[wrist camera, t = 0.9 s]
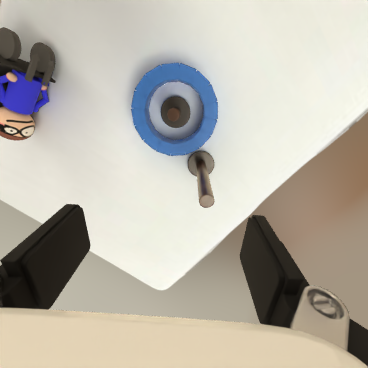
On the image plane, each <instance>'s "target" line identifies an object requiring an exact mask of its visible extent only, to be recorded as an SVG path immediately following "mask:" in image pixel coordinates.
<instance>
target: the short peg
mask: <svg viewBox="0 0 368 368" xmlns="http://www.w3.org/2000/svg"><path fill="white" fill-rule="evenodd" d="M161 116H162V119H163V121H164V122H165V123H166V124H167V125H168V126H170V127H173V128H179V127H182V126H184V125H185V124H186V123H187V122H188V120H189V118H190V107H189V105H188V103H187V102H186V101H185V100H184V99H183V98H181V97H170V98H168V99H167V100H166V101H165V102H164V103H163V105H162V108H161Z"/></svg>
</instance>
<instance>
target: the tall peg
mask: <svg viewBox="0 0 368 368" xmlns="http://www.w3.org/2000/svg"><path fill="white" fill-rule="evenodd" d="M188 168H189V171H190V172H191V173H192V174H193V175H195V176H197V182H198V194H199V203H200V205H201V206H202V207H205V208H208V207H211V206H212V205H213V204H214V197H213V192H212V188H211V184H210V179H209V174H210V173H211V172H212V170H213V168H214V160H213V158H212V156H211V155H210V154H209V153H207V152H204V151H198V152H195V153H194V154H192V155H191V157H190V158H189V160H188Z"/></svg>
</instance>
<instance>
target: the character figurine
mask: <svg viewBox="0 0 368 368" xmlns="http://www.w3.org/2000/svg"><path fill="white" fill-rule="evenodd" d="M20 53H21V42H20V39H19V37H18V35H17V34H16V33H15V32H13V31H11V30H9V29H7V28H4V27H3V28H0V136H2V137H4V138H7V139H10V140H24V139H27V138H29V137H30V136H31V135H32V134H33V133H34V130H35V123H34V121H33V119H32V117H31V116H30V114H32V113H33V112H38V110H39V109H38V108H40V107H41V106H43V105H44V104H46V103H47V102H49V99H48V95H47V91H46V89H47V86H49V81H50V82H53V83H55V80H54V79H52V78H51V75H52V73H53V70H54V66H55V56H54V53H53V51H52V49H51V48H50V47H48V46H47V45H45V44H43V43H36V44H34V45H33V47H32V49H31V53H30V59H31V60H30V63H29V62H26V61H23V60H21V59H18V58H19V56H20ZM40 91H41V92H42V96H43V99H41V100H40V101H38V102H37V99H38V96H39V93H40ZM36 102H37V103H36Z"/></svg>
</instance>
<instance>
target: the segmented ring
mask: <svg viewBox="0 0 368 368" xmlns="http://www.w3.org/2000/svg"><path fill="white" fill-rule="evenodd" d="M177 81H179V82H182V83H185V84H187V85H190V86H191V87H192V88H193V89H194V90H195V91H196V92H197V93H198V94H199V97H200V99H201V101H202V104H203V118H202V121H201V124H200V127H199V128H198V129H197V130H196V131H195V132H194V133H193V135H191V136H189V137H187V138H185V139H180V140H172V139H169V138H166V137H163V136H162V135H161V134H160V133H159V132H157V131H156V130H155V128H154V126H153V124H152V122H151V121H150V115H149V105H150V100H151V97H152V96H153V94H154V93H155V91H156V90H157V89H158V88H159V87H161V86H162V85H164V84H166V83H167V82H177ZM209 84H210V82H209V81H208V80H207V79H206V78H205V77H204V76H203V75H202V74H201V73H200V72H199V71H198V70H197V72H196V69H195V68H192V67H190V66H187V65H184V64H182V63H180V65H179V63H170V64H162V66H161V65H159V66H157V67H156V68H154V69H152V70H151V71H149V72H148V73H146V75H144V76H143V78H142V79H141V81H140V82H139V84H138V85H137V87H136V88H135V90H136V91H134V95H133V100H132V105H131V107H132V109H131V111H132V116H133V122H134V125H136V126H135V128H136V130H137V132H138V133H139V135H140V137H141V138H142V140H144V142H145V143H146V144H148V145H149V146H150V147H151V148H153V149H154V150H156V149H157V150H156V151H157V152H160V153H163V154H166V155H169V156H170V154H171V156H176V155H185V153H186V155H187V154H189V153H191V152H193V151H195V150H197V149H199V147H200V148H201V147H202V146H203V144H204V143H205V142H206V141H207V140H208V139H209V138H210V137H211V136H210V135H212V133H213V130H214V128H215V125H216V122H217V120H216V119H218V102H216V101H217V98H216V96H215V93H214V91H213V88H212V85H211V84H210V85H209Z"/></svg>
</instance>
